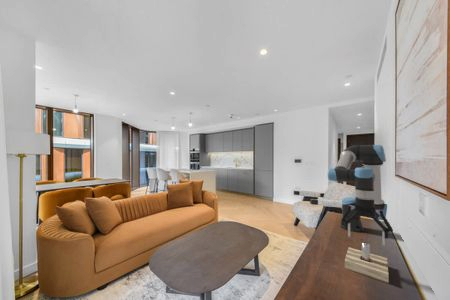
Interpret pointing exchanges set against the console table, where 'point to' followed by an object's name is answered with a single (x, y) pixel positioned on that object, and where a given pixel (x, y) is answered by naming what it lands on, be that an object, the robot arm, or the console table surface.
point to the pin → (366, 251)
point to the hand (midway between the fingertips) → (365, 240)
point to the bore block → (367, 265)
